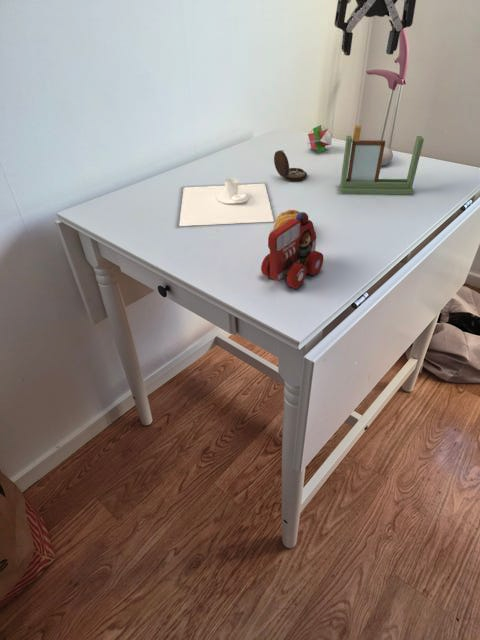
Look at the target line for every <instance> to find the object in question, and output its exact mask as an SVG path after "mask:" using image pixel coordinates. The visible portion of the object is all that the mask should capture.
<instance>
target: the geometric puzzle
mask: <svg viewBox="0 0 480 640" xmlns="http://www.w3.org/2000/svg"><path fill="white" fill-rule="evenodd" d="M322 127H323V128H325V126H324V125H322V124H320V125H318V126H316V127H313V128H312V130H310V132H309V133H307V137H308V139H307V141H306V142H307V143H306V145H307V146H308V147H310V149H311V150H315V149H316V151H317V154H318V155H319V154H320V153H322V152H325V151H326V150H327V149H328V148H329V147H330V146H332V143H333V135H332V133H331V131H330V130H329V128H325V129H323V128H322Z"/></svg>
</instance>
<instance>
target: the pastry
mask: <svg viewBox="0 0 480 640" xmlns="http://www.w3.org/2000/svg"><path fill="white" fill-rule="evenodd" d="M299 213H301V211H298V210H296V209H288V210H285V211H281V213H279V214H278V215H277V216H276V218H275V219H274V225H273V230H275V229H277V228H278V227H280V226H282V225H283V224H285V223H286V222H288V221H289V220H291V219H296V216H297V215H298V214H299Z"/></svg>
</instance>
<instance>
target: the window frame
mask: <svg viewBox="0 0 480 640" xmlns="http://www.w3.org/2000/svg"><path fill="white" fill-rule="evenodd" d="M352 141H353V136H352V135H346V138H345V146H344V151H343V152H344V153H343V161H342V167H341V176H340V182H339V191H340V194H346V195H347V194H348V195H350V194H352V195H353V194H354V195H404V196H405V195H409V196H410V195H412V194H413V185H414V181H415V178H416V173H417V170H418V165H419V162H420V157H421V153H422V149H423V145H424V138H423V136H422V135H416V138H415V141H414V146H413V150H412V154H411V159H410V164H409V168H408V171H407V172H408V173H407V177H406V178H379V179H378V182H347V176H348V169H349V162H350V155H351V148H352Z"/></svg>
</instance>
